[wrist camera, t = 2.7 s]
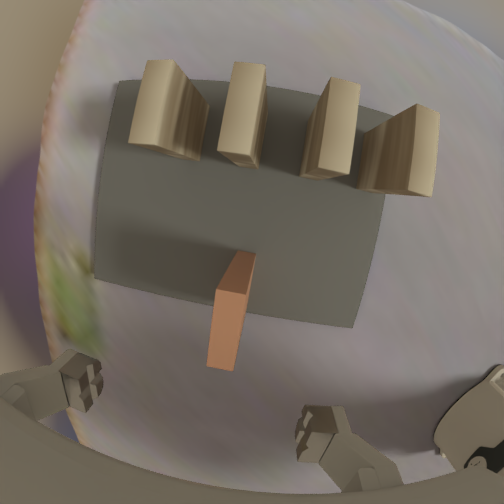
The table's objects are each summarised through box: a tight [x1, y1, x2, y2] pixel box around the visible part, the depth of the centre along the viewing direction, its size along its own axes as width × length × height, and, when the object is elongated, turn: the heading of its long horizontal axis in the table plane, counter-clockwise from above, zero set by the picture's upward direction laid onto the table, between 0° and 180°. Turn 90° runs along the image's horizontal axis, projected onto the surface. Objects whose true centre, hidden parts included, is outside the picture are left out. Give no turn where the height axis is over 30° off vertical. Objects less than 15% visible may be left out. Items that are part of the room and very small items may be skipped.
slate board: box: [94, 80, 394, 328], centre depth 24 cm, size 26×20×1 cm
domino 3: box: [299, 77, 360, 181], centre depth 18 cm, size 2×5×10 cm, turn 171°
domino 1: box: [128, 60, 210, 161], centre depth 18 cm, size 2×5×10 cm, turn 171°
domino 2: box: [217, 62, 268, 169], centre depth 18 cm, size 2×5×10 cm, turn 170°
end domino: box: [207, 251, 256, 371], centre depth 20 cm, size 2×5×10 cm, turn 171°
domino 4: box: [356, 104, 440, 197], centre depth 18 cm, size 2×5×10 cm, turn 171°
